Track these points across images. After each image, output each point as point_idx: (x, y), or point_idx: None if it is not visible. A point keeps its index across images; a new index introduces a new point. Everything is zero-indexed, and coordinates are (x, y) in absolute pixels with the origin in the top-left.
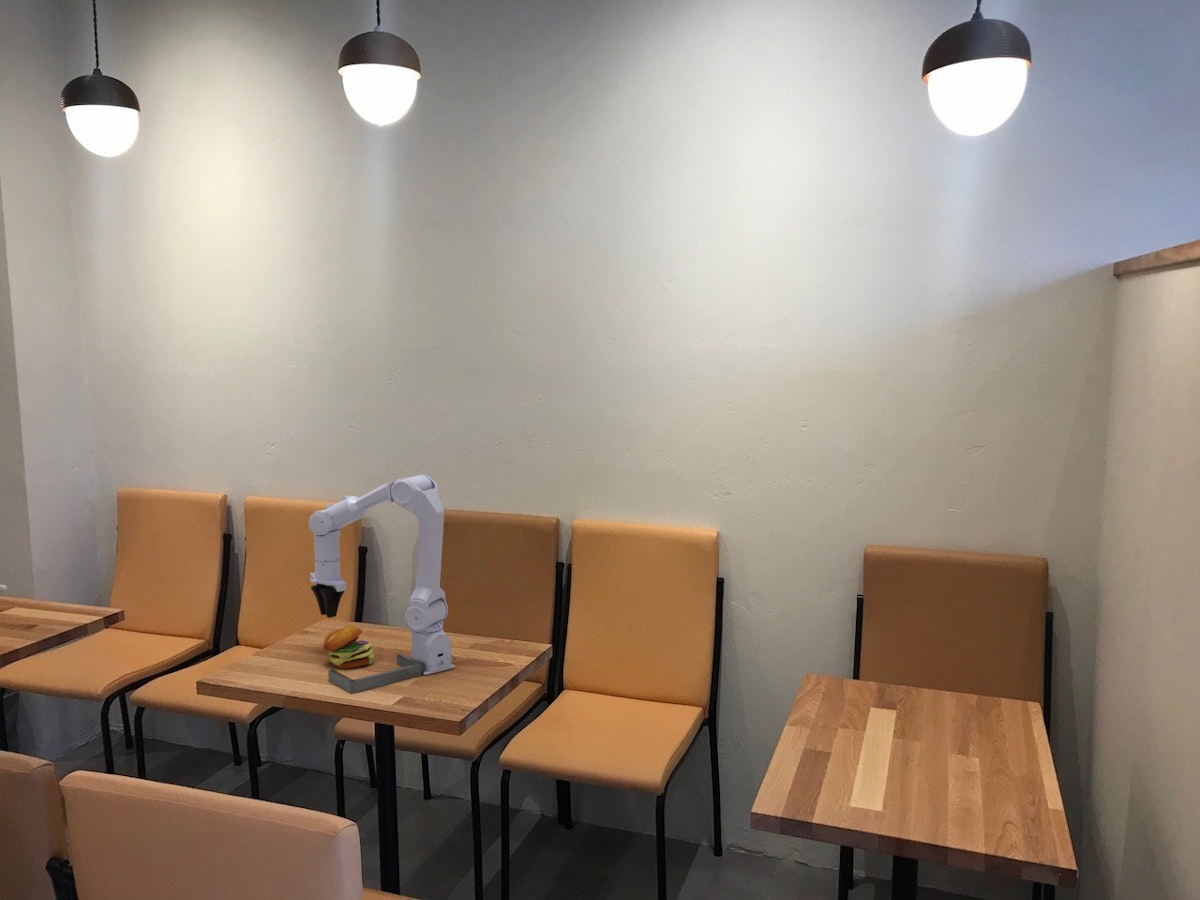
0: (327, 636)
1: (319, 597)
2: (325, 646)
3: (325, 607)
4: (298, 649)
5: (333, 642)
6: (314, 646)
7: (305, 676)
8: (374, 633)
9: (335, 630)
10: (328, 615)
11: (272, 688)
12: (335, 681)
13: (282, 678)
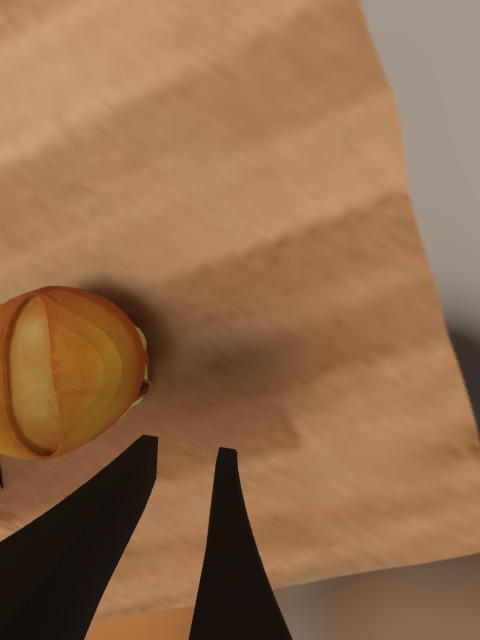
0: (57, 323)
1: (199, 585)
2: (56, 288)
3: (110, 483)
4: (342, 329)
5: (3, 307)
6: (325, 378)
7: (73, 182)
8: (287, 537)
9: (80, 385)
10: (132, 445)
11: (24, 13)
12: None
13: (103, 108)
